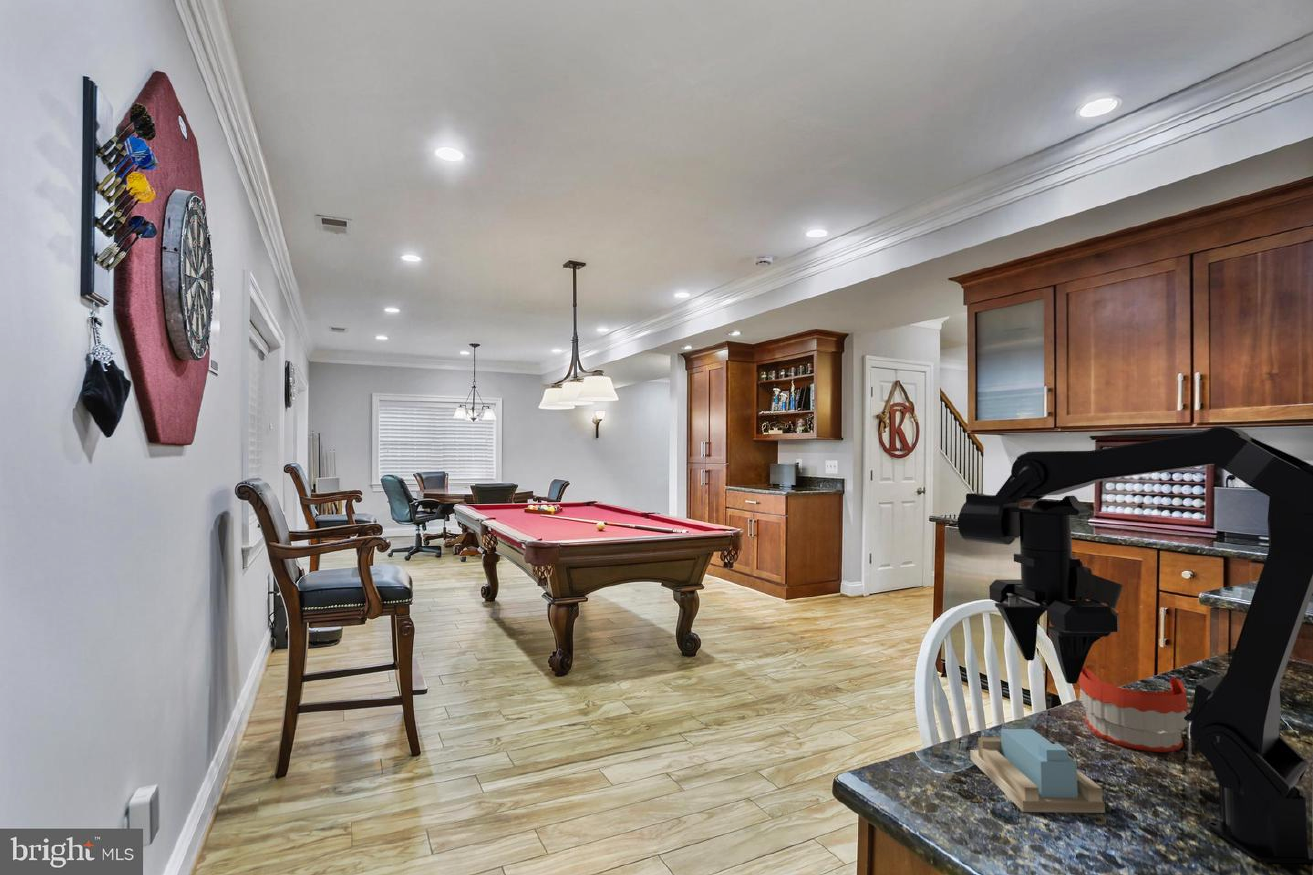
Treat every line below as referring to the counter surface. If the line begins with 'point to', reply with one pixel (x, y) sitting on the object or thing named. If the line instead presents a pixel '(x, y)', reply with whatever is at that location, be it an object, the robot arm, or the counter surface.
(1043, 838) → the counter surface
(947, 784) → the counter surface
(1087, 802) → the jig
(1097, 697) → the toy
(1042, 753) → the blue stepped block
